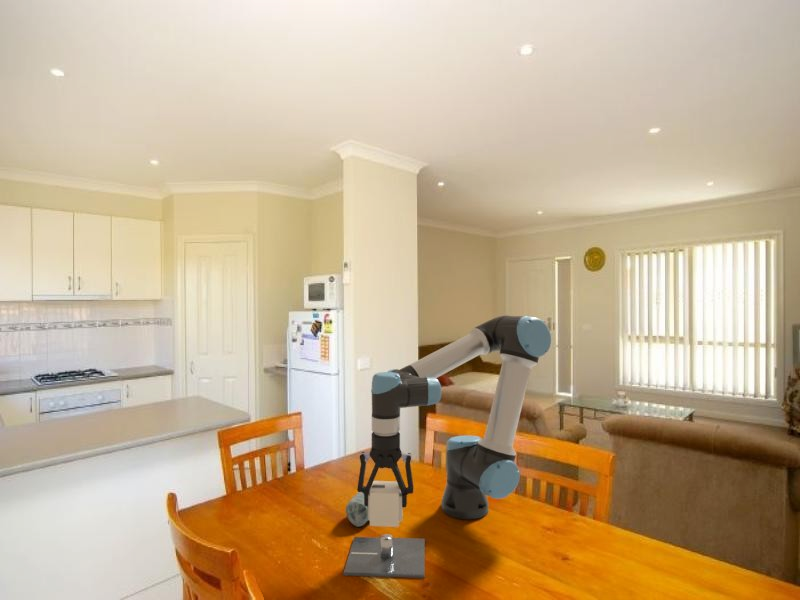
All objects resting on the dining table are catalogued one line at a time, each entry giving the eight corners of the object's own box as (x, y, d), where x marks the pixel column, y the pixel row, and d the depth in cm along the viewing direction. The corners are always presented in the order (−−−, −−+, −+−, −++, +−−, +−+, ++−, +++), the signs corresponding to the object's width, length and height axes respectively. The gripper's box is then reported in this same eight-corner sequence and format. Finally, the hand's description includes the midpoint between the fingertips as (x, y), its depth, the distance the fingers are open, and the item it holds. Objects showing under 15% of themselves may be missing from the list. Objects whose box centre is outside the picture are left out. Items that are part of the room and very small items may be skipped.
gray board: (424, 541, 122) (424, 522, 122) (424, 577, 106) (424, 556, 106) (354, 539, 124) (354, 521, 124) (343, 575, 108) (343, 554, 108)
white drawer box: (400, 512, 118) (400, 480, 118) (398, 526, 111) (398, 492, 111) (373, 511, 119) (373, 479, 119) (369, 525, 111) (369, 491, 111)
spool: (367, 523, 126) (358, 488, 130) (342, 532, 130) (335, 497, 134) (392, 515, 137) (383, 482, 141) (369, 523, 141) (361, 491, 145)
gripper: (424, 428, 118) (423, 512, 118) (350, 426, 119) (349, 510, 119) (424, 437, 111) (423, 527, 111) (345, 435, 112) (344, 524, 112)
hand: (385, 518), depth 115 cm, fingers closed on white drawer box, 7 cm apart
